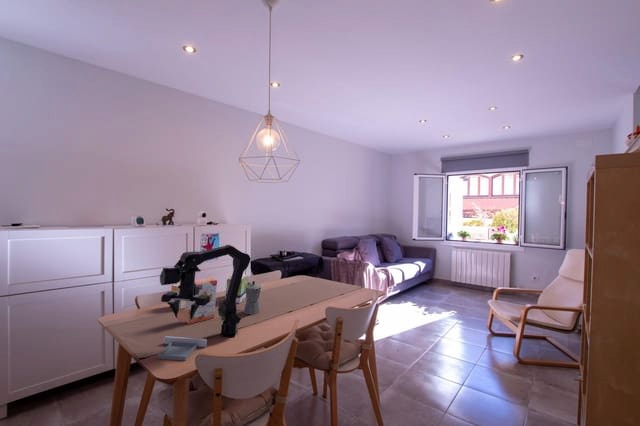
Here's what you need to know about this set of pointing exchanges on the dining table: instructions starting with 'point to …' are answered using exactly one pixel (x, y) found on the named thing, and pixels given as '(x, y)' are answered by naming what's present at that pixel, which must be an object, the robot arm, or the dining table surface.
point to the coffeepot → (252, 298)
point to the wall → (186, 341)
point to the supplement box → (176, 289)
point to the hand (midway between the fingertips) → (184, 318)
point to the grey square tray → (177, 351)
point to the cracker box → (208, 310)
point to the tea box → (242, 288)
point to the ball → (184, 314)
